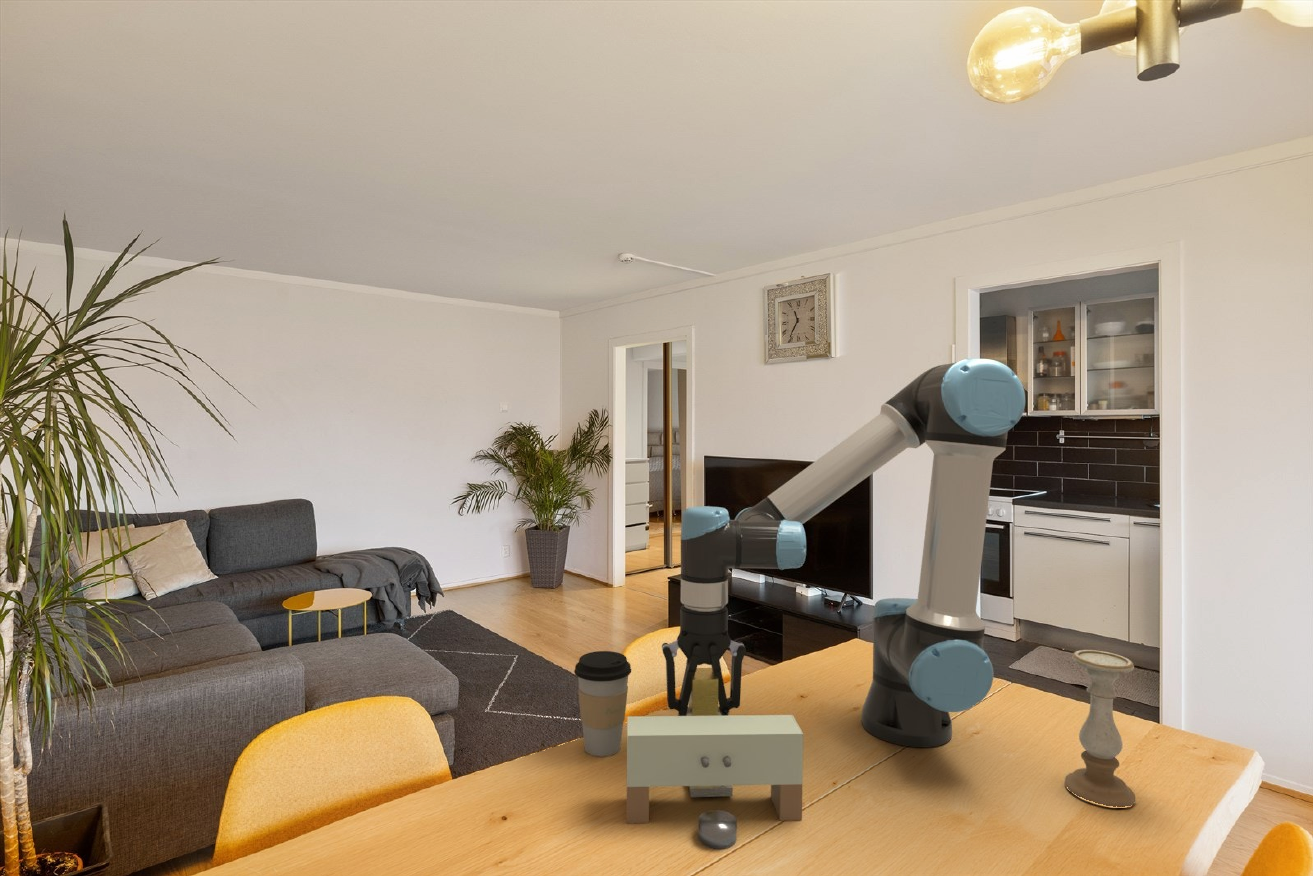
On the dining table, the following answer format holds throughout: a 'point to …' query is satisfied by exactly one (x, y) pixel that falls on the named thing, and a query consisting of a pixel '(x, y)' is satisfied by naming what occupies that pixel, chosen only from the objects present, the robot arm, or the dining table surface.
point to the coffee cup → (602, 700)
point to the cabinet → (715, 757)
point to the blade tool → (706, 705)
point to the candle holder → (1101, 733)
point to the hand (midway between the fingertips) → (702, 750)
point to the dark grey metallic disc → (717, 829)
